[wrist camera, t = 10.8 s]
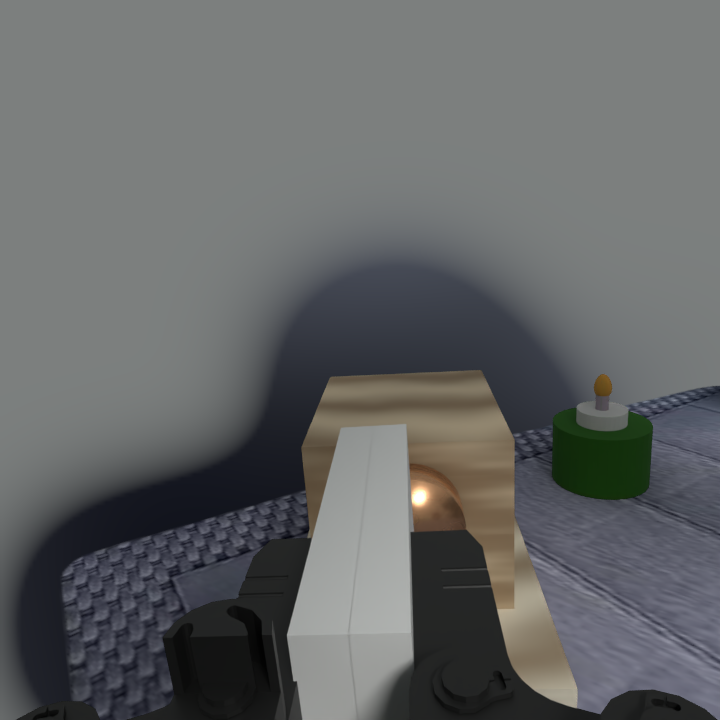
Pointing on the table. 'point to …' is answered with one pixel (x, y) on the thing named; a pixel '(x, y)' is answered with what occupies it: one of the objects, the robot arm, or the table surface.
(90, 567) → the table surface
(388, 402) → the press block
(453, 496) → the door knob
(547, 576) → the table surface
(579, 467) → the candle
